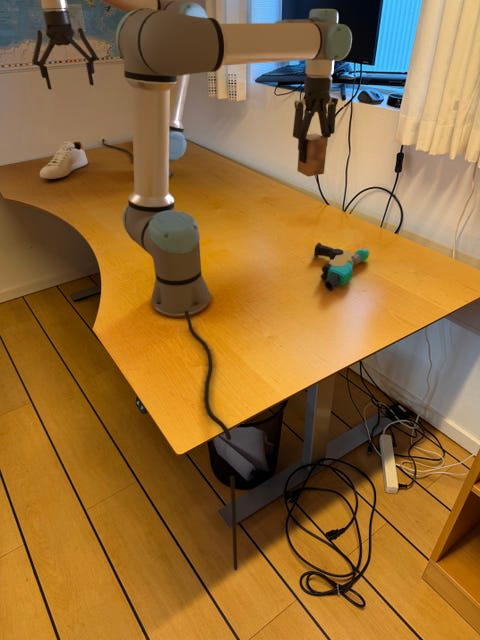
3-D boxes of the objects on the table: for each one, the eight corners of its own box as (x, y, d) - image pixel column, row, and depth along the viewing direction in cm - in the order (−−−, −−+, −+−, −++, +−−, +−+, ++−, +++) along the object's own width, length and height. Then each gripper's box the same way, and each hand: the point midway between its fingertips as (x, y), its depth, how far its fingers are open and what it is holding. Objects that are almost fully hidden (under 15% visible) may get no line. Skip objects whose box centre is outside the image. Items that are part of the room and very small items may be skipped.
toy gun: (291, 271, 128) (345, 285, 123) (324, 234, 147) (372, 245, 141) (290, 285, 131) (343, 299, 125) (322, 247, 150) (369, 258, 144)
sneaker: (33, 182, 200) (26, 152, 193) (72, 161, 222) (66, 134, 215) (55, 184, 198) (48, 154, 191) (91, 163, 220) (86, 135, 213)
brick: (312, 168, 150) (315, 133, 144) (323, 173, 146) (327, 137, 139) (297, 171, 148) (299, 135, 142) (308, 176, 144) (311, 140, 137)
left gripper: (93, 7, 151) (105, 81, 164) (10, 11, 142) (29, 88, 155) (99, 9, 146) (111, 84, 158) (13, 12, 137) (33, 92, 149)
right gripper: (338, 71, 137) (329, 152, 151) (282, 76, 130) (278, 161, 144) (354, 75, 132) (344, 159, 145) (297, 80, 125) (291, 168, 138)
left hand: (71, 86), depth 157 cm, fingers open, 13 cm apart
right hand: (311, 160), depth 145 cm, fingers closed on brick, 6 cm apart
